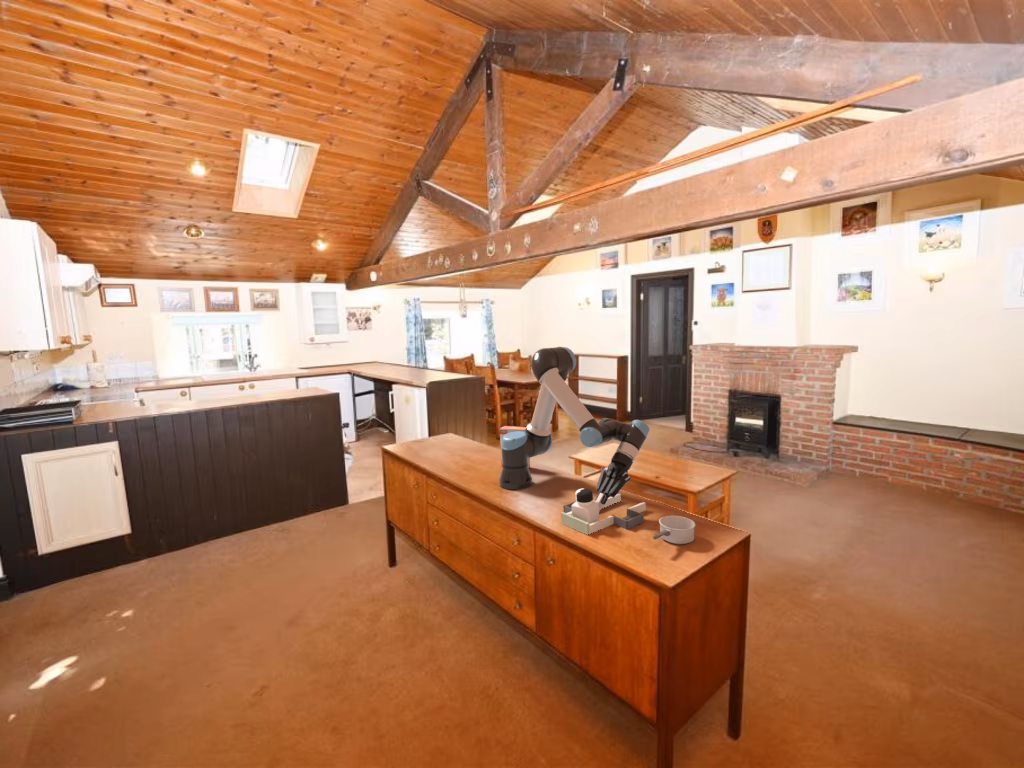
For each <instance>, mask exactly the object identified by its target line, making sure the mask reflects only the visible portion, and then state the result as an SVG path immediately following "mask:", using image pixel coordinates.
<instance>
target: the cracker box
mask: <svg viewBox="0 0 1024 768" xmlns="http://www.w3.org/2000/svg"><path fill="white" fill-rule="evenodd" d="M526 427H527V426H526ZM526 427H525V426H512V425H504V426H502V427H499V437H500V438H499V439H500V441H499V442H500V465H501V468H502V447H501V443H502V437H503V436H504V435H505V434H507V433H510V432H515V431H523V432H525V431H526ZM530 467H531V457H530V458H528V469H529V468H530Z"/></svg>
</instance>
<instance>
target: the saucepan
mask: <svg viewBox="0 0 1024 768" xmlns="http://www.w3.org/2000/svg"><path fill="white" fill-rule="evenodd" d="M658 523H659V532H658V533H657V534H654V535H652V539H653V540H657V539H659V538H662V539H663V540H664V541H667V542H668V543H671V544H673V545H675V544H676V545H684V544H685V545H686V544H688V543H692V542H693V541H694V539H695V527H696V525H697V524H696V522H695V521H694V520H693V519H690V518H688V517H686V516H681V515H673V514H672V515H665V516H661V517H659V519H658Z"/></svg>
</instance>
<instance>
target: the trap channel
mask: <svg viewBox="0 0 1024 768" xmlns="http://www.w3.org/2000/svg"><path fill="white" fill-rule="evenodd" d="M621 496H622V494H621V493H617V494H616V495H615V497H609V498H608V500H607V501H606V503H605V504H604V505H603V506H602V508H603V509H605V508H608V507H610V506H609V505H611V506H613V505H615V504H614V503H616V504H618V503H621V502H622V497H621ZM620 501H621V502H620ZM575 502H576V500H575V501H573V502H570V503H566V504H565V505H562V507H563V512H564V513H566V514H569V515H571V516H572V504H574V503H575ZM617 502H618V503H617ZM612 504H613V505H612ZM607 506H608V507H607ZM646 506H647V504H646V502H644V501H642V502H640V503H637V504H635V505H633V506H630V507H628V508H626V515H625V516H624V517H620V516H616V515H614V514H611V515H608V516H605V517H603V518H601V519H599V520H598V521H596V522H594V523H591V524H589V535H591V533H592V534H594V533H596V532H599V531H601V530H603V529H605V528H608V527H611V526H612V525H616V527H617V526H618V527H620V528H623V529H625V530H628V529H632V528H634V527H636V526H639V525H641V524H642V523H644V514H643V513H642V512H645V511H646V509H647V507H646ZM604 507H605V508H604ZM602 508H601V510H602ZM600 529H601V530H600ZM598 530H599V531H598ZM593 532H594V533H593Z"/></svg>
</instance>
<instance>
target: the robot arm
mask: <svg viewBox="0 0 1024 768" xmlns="http://www.w3.org/2000/svg"><path fill="white" fill-rule="evenodd" d="M576 365H577V358H576V356H575V353H574V352H573V350H572V349H570V348H568V347H567V346H566V347H565V346H557V347H545V348H540V349H538V350H537V351H536V352H534V354H533V355H532V357H531V361H530V367H531V371H532V373H533V375H534V377H535V379H536V381H537V382H539V384H540V389H539V393H538V396H537V400H536V403H535V407H534V412H533V415H532V418H531V421H530V423H528V424H526V431H525V432H523V431H515V432H510V433H507V434H505V435H504V436H503V437H502V443H501V445H500V448H501V447H502V467H501V468H502V469H501V472H500V476H499V479H498V480H499V481H498V482H499V483H498V484H499V487H501V488H503V489H505V490H506V489H507V490H523V489H527V488H529V487H531V486H532V485H533V477H532V475H531V474H532V473H531V472H530V469H529V468H528V458H530V459H531V458H533V457H537V456H540V455H543V454H545V453H547V452H549V450H551V448H552V446H553V443H554V441H553V440H554V439H553V437H552V436H553V435H552V434H551V433H552V432H551V429H550V424H551V421H552V418H553V415H554V414H553V413H554V411H555V408H556V404H558V405H559V406H560V407H561V409H562V410H563V411H564V412H565V414H566V416H568V418H569V419H570V420H571V421H572V423H573V424H574V426H575V427H576V428H577V430H578V431H579V432H580V433H579V438H580V442H581V444H582V445H583V446H585V447H587V448H592V447H598V446H600V445H602V444H604V443H608V442H611V441H613V440H615V441H618V442H620V443H619V445H618V446H617V448H616V450H615V452H614V454H613V456H612V457H611V461H610V463H609V464H608V465H607V466H606V467H604V466H602V467H600V475H599V477H598V481H597V484H596V487H595V490H596V491H597V492H598V494H597V495H596V497H595V500H594V501H597V502H598V507H599V512H601V510H602V509H601V508H602V506H603V505H604V504H605V503H606V501H607V500H608V498H609V497H615V495H617V494H619V492H620V491H621V489H622V488H623V487H624V485H625V484H626V483H627V482H630V480H631V479H632V478H631V476H630V475H629V474H628V472H629V470H630V469H631V466H633V464H634V462H633V461H635V459H636V458H637V455H638V454H639V452H640V450H641V447H642V446H643V444H644V442H645V440H647V437H648V434H649V432H650V427H649V425H648V424H647V423H646V422H645V421H642V420H640V419H634V420H632V421H631V422H630V423H626V422H622V421H619V420H615V419H613V418H607V417H603V418H601V419H600V420H599V422H598V421H597V420H596V419H595V418H594V416H593V415H592V414H591V412H590V411H589V410H588V409H587V407H586V405H584V403H582V401H581V400H580V398H579V397H578V396H577V394H575V392H574V391H573V389H571V387H570V386H569V385H568V383H567V382H566V381H567V379H568V376H569V375H568V374H569V373H572V372H573V371H574V370H575V369H576Z"/></svg>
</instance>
